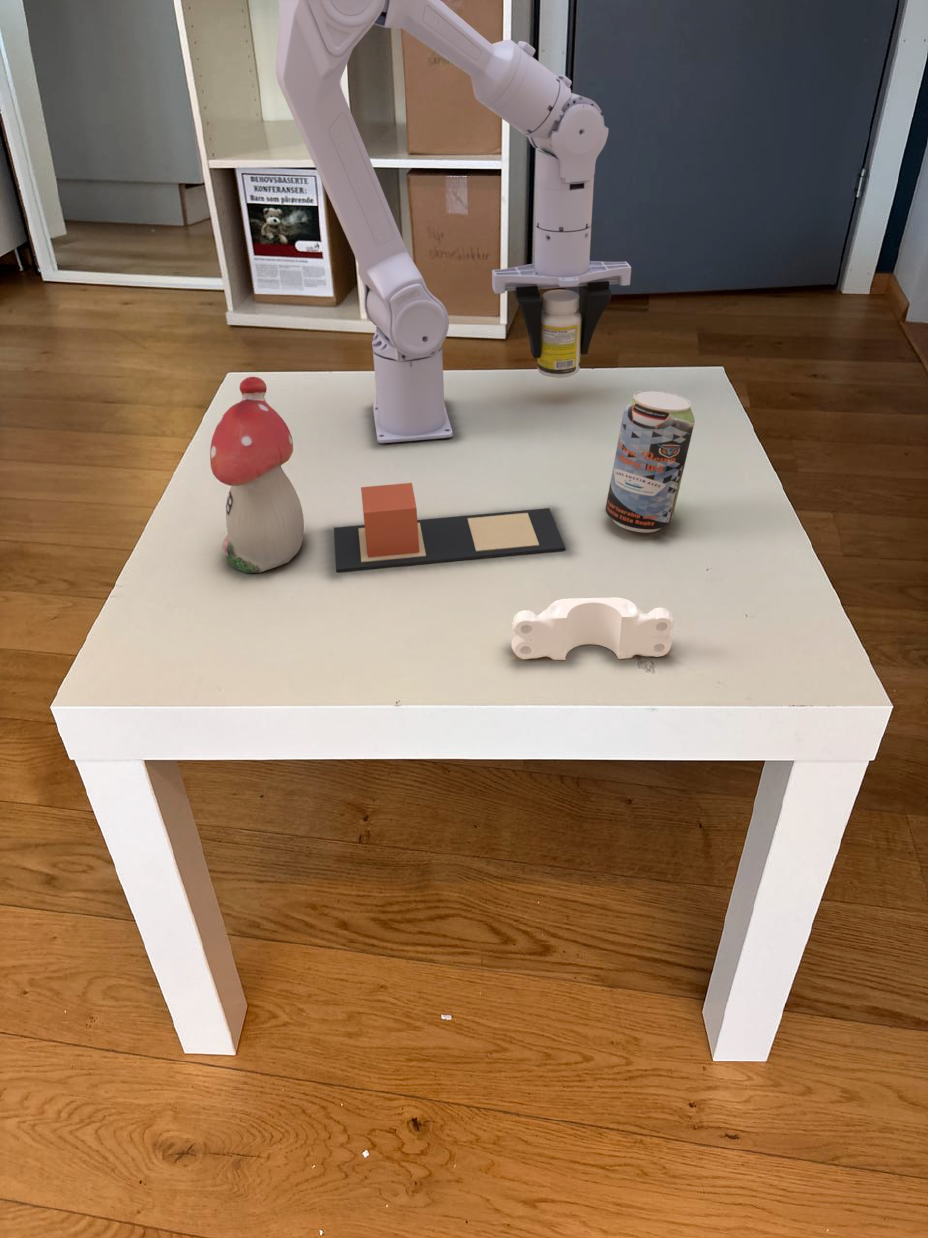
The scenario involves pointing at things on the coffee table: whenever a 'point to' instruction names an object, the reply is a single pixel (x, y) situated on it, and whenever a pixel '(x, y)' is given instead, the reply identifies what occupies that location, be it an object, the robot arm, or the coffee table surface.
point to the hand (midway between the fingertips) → (558, 352)
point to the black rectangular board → (457, 540)
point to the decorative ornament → (256, 483)
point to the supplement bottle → (560, 334)
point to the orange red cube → (390, 519)
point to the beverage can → (650, 460)
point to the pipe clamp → (592, 628)
